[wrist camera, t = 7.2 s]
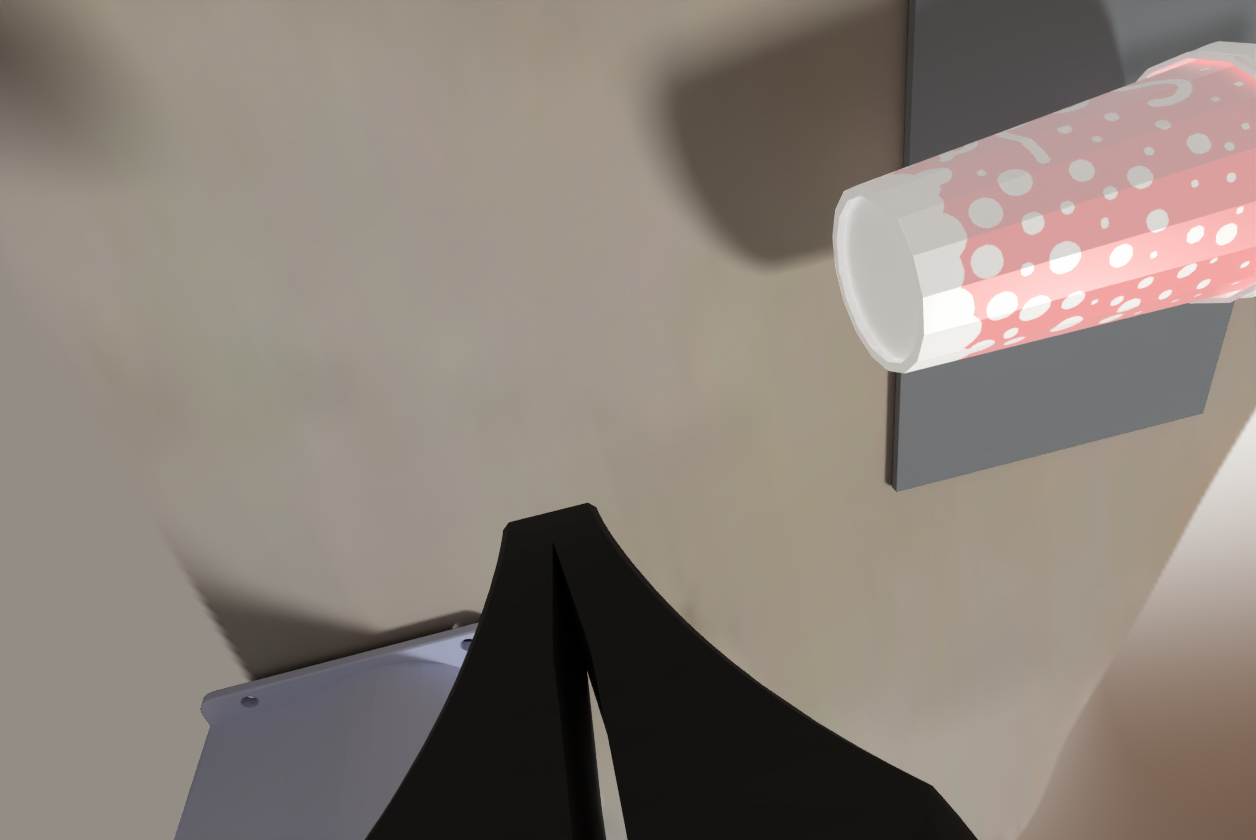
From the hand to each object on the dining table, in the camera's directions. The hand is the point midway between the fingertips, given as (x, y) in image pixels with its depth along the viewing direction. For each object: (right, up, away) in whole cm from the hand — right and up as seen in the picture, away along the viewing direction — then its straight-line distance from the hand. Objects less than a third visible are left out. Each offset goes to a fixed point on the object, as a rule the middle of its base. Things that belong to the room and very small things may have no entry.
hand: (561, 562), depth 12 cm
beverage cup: (+7, +5, +7) cm, 11 cm away
